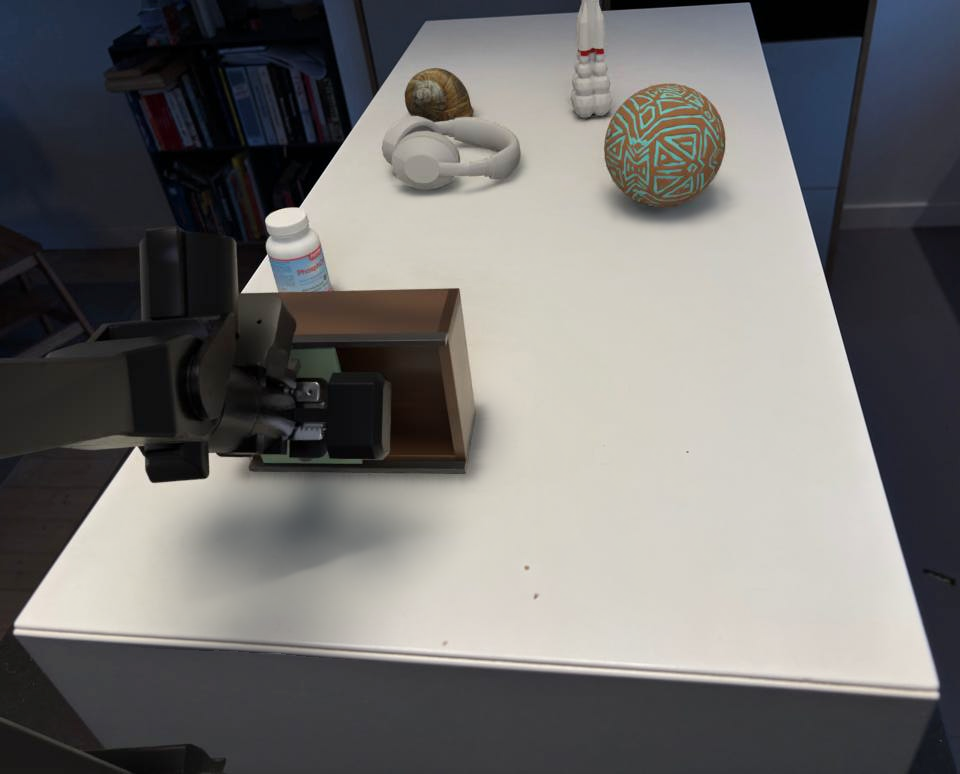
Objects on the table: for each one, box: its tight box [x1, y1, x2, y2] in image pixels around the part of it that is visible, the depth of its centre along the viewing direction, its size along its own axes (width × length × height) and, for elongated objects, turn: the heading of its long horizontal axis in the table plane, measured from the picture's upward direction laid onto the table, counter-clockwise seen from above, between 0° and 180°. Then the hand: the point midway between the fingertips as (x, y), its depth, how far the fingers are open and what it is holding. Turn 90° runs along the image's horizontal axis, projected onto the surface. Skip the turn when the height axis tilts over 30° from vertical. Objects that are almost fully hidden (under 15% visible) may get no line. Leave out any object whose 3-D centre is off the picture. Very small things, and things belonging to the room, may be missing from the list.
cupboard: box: [238, 287, 477, 474], centre depth 71 cm, size 8×20×14 cm, turn 84°
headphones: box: [381, 115, 522, 191], centre depth 120 cm, size 18×8×20 cm
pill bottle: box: [264, 207, 333, 292], centre depth 93 cm, size 6×6×11 cm
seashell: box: [404, 67, 474, 122], centre depth 137 cm, size 11×9×8 cm
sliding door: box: [261, 347, 363, 464], centre depth 68 cm, size 4×9×13 cm, turn 84°
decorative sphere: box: [603, 83, 726, 208], centre depth 103 cm, size 15×15×15 cm
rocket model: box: [570, 0, 613, 119], centre depth 125 cm, size 7×7×30 cm
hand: (304, 423), depth 68 cm, fingers closed on sliding door, 2 cm apart
